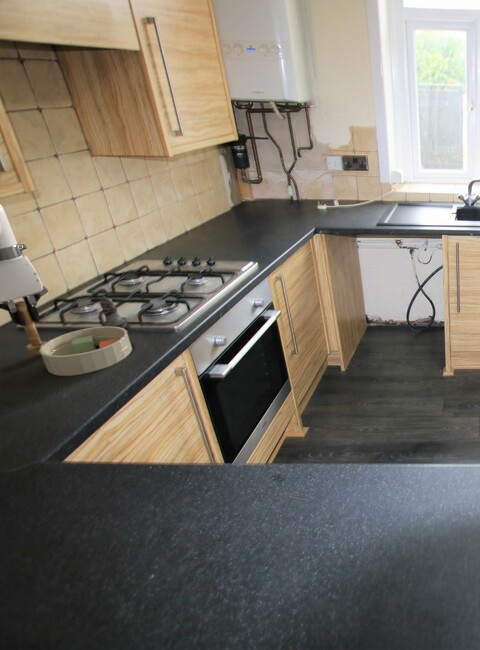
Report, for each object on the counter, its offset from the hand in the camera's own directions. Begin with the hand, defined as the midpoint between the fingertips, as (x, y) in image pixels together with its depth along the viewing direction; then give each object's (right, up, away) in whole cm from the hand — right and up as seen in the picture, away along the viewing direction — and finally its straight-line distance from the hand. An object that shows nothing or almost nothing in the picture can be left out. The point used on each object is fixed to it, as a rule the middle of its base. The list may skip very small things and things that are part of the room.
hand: (27, 322), depth 121 cm
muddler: (0, -8, +3) cm, 9 cm away
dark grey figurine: (+9, -4, +18) cm, 20 cm away
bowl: (+14, -10, +3) cm, 18 cm away
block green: (+11, -8, +5) cm, 15 cm away
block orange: (+19, -9, +4) cm, 21 cm away
